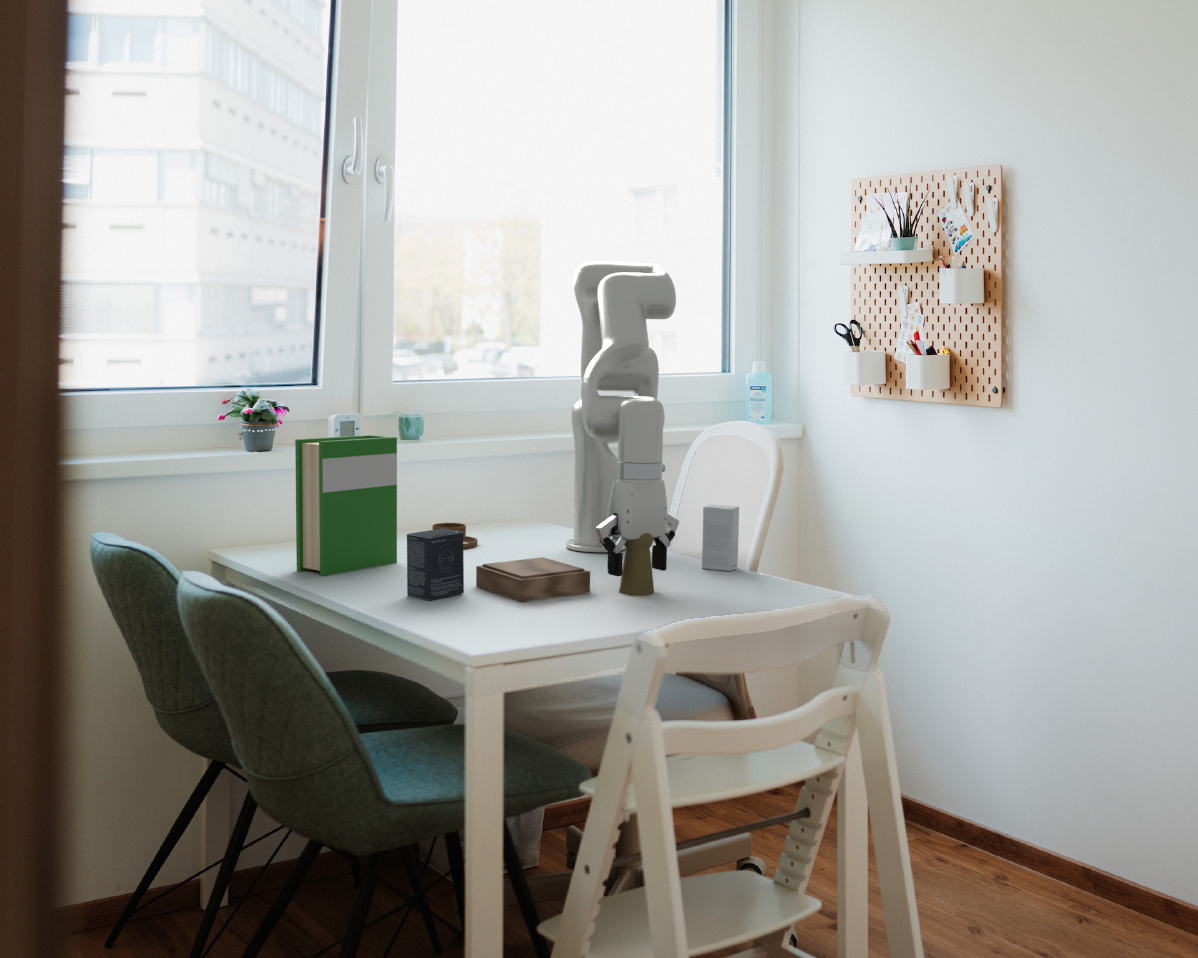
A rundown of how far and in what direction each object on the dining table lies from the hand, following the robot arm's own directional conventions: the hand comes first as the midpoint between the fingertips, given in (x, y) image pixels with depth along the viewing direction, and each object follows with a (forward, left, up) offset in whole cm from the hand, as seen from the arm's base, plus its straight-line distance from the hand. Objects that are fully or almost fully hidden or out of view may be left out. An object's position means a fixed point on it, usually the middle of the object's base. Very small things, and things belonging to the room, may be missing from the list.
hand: (637, 572), depth 184 cm
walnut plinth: (+14, -11, -3) cm, 18 cm away
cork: (0, 0, -4) cm, 4 cm away
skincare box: (-27, -8, -4) cm, 28 cm away
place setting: (+8, -59, -4) cm, 60 cm away
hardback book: (+32, -46, -4) cm, 56 cm away
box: (+30, -16, -4) cm, 34 cm away
